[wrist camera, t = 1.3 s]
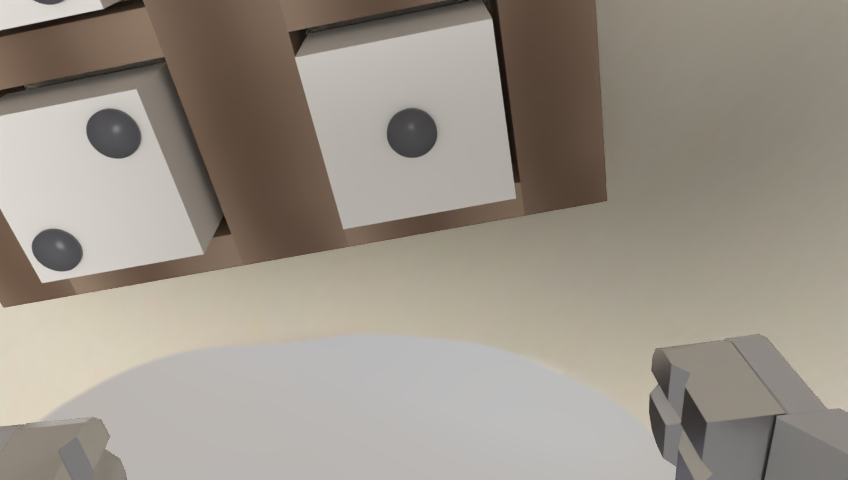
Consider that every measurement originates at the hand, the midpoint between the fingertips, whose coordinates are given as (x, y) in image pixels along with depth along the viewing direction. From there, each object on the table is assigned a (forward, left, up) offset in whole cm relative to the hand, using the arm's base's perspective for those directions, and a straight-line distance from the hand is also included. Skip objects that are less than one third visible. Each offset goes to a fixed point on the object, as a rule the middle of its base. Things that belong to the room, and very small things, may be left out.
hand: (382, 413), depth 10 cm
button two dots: (+11, 0, -16) cm, 19 cm away
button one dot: (0, 0, -16) cm, 16 cm away
